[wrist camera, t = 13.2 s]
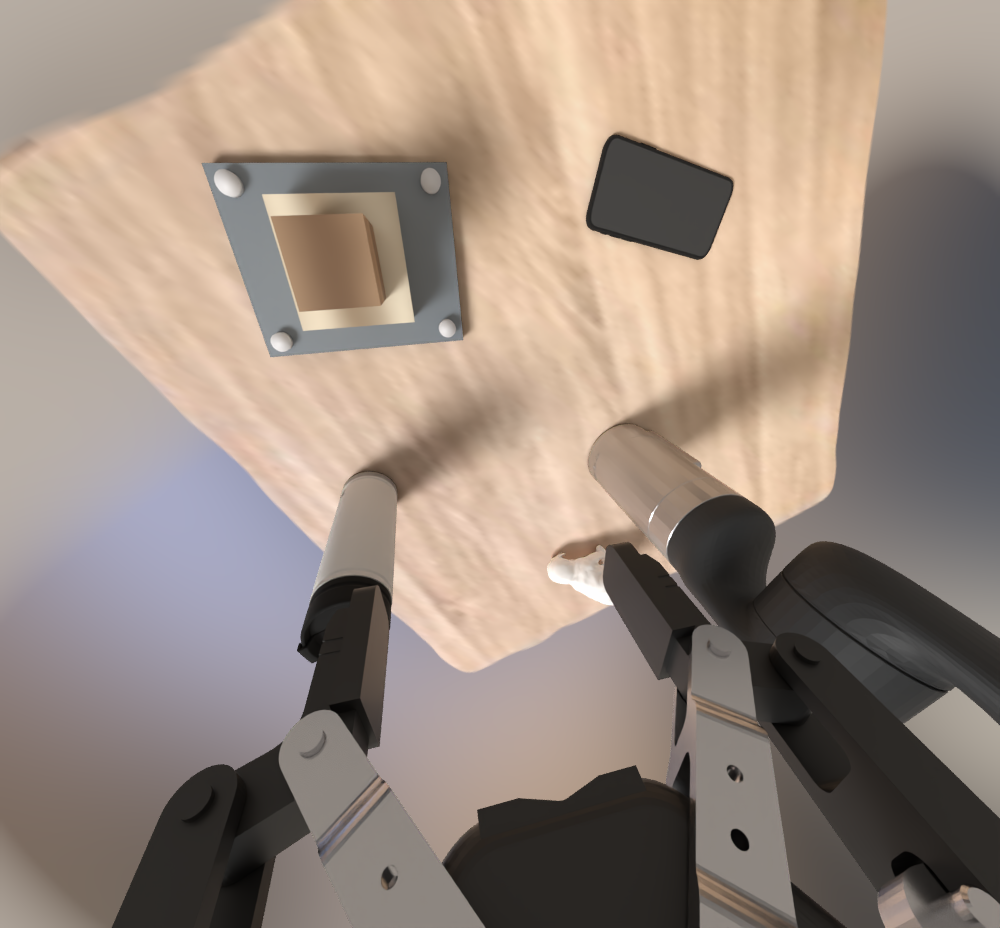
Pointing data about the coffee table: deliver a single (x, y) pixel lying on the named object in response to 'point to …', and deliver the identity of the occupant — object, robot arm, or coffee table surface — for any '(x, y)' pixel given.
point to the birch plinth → (389, 246)
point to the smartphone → (656, 199)
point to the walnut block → (331, 260)
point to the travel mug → (353, 555)
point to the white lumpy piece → (582, 574)
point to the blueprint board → (412, 182)
